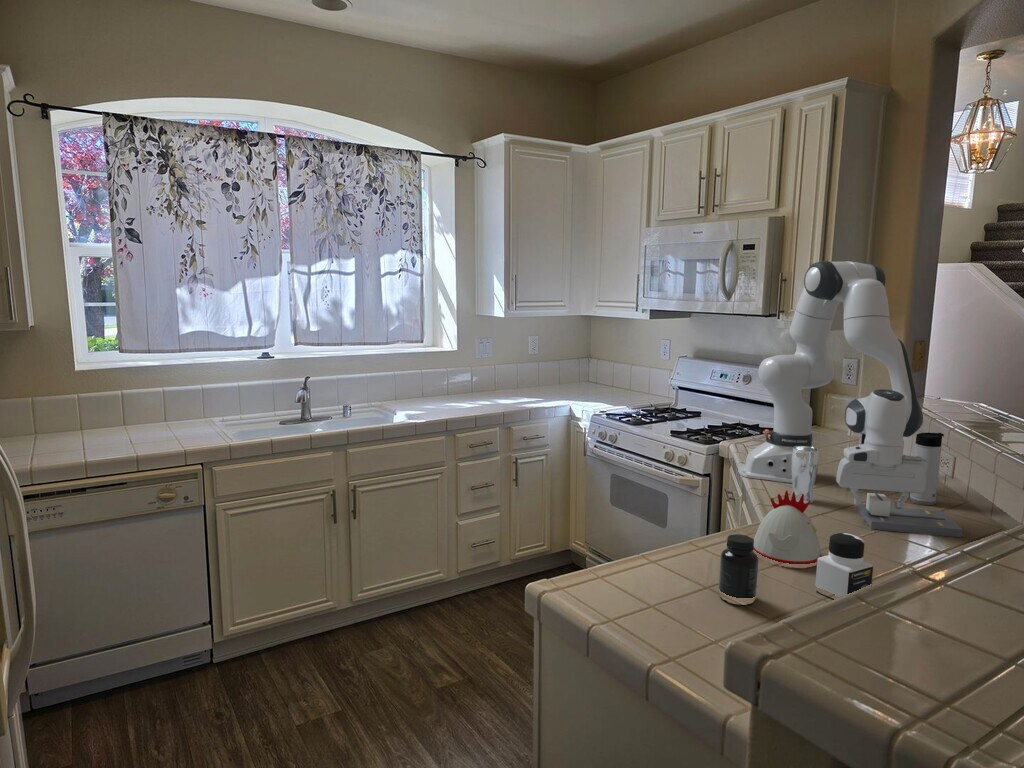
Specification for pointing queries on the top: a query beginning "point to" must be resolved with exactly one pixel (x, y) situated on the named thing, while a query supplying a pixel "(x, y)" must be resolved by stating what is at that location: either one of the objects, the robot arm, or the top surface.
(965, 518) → the top surface
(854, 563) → the medicine bottle
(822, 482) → the top surface
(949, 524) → the fader panel
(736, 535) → the supplement bottle
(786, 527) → the kitchen timer
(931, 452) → the travel mug
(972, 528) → the top surface
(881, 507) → the fader knob
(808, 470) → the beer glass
